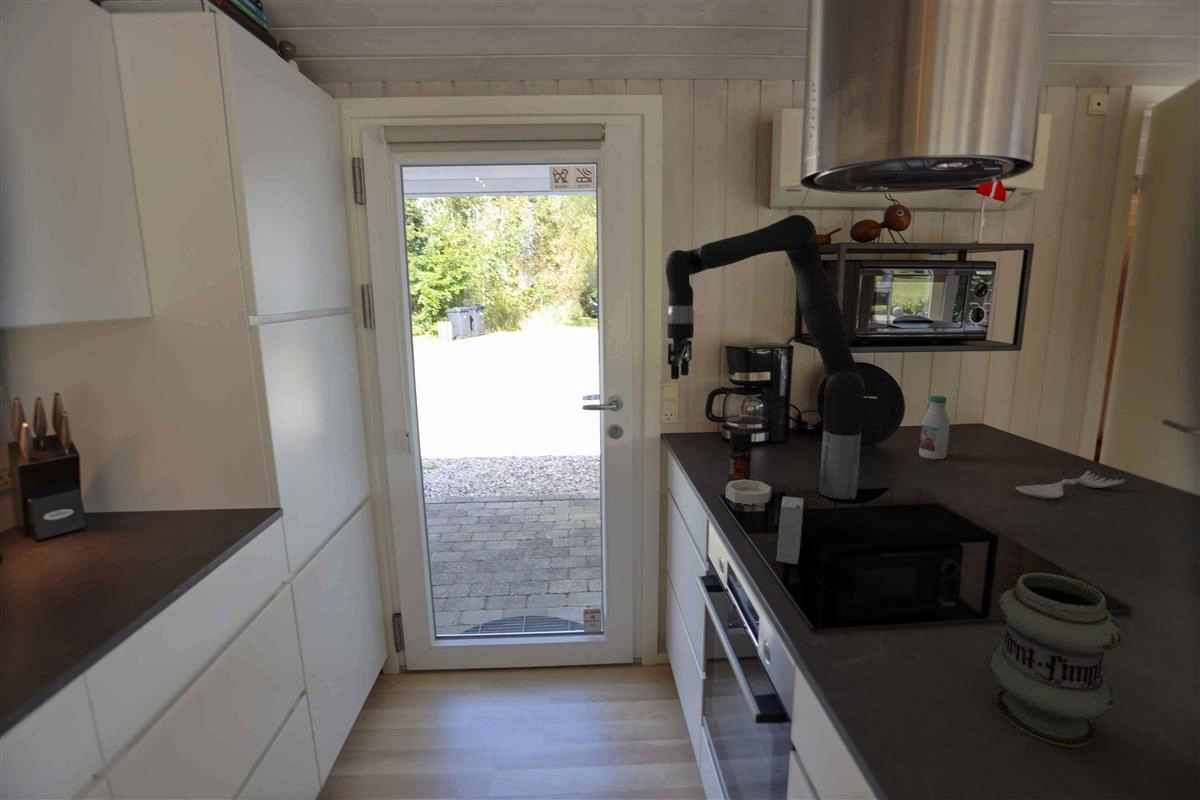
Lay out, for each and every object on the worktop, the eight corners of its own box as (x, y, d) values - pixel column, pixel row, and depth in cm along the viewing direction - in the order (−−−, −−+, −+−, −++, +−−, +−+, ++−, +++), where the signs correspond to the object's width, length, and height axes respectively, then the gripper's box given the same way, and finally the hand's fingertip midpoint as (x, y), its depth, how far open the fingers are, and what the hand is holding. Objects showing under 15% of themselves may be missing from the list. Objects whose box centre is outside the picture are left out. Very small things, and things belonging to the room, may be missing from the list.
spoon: (1124, 490, 153) (1126, 478, 153) (1041, 505, 143) (1043, 492, 143) (1087, 480, 162) (1089, 469, 161) (1006, 494, 152) (1008, 481, 151)
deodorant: (753, 482, 162) (755, 431, 159) (743, 487, 158) (745, 435, 155) (735, 477, 166) (736, 428, 163) (724, 482, 162) (726, 432, 159)
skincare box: (778, 549, 120) (781, 495, 118) (800, 552, 118) (804, 497, 116) (775, 562, 114) (778, 505, 112) (799, 565, 113) (802, 508, 110)
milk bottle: (938, 453, 188) (945, 394, 185) (950, 460, 181) (957, 399, 177) (914, 453, 189) (920, 394, 185) (925, 460, 182) (931, 398, 178)
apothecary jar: (967, 682, 79) (982, 563, 75) (1059, 687, 78) (1078, 566, 74) (1022, 751, 67) (1043, 613, 64) (1132, 758, 66) (1159, 618, 62)
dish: (773, 494, 152) (773, 483, 152) (765, 507, 143) (765, 496, 142) (732, 488, 157) (733, 477, 157) (722, 501, 148) (722, 490, 147)
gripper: (685, 323, 156) (684, 381, 159) (700, 320, 168) (699, 374, 171) (659, 322, 159) (659, 379, 162) (676, 320, 172) (675, 373, 174)
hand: (679, 377), depth 167 cm, fingers open, 8 cm apart
